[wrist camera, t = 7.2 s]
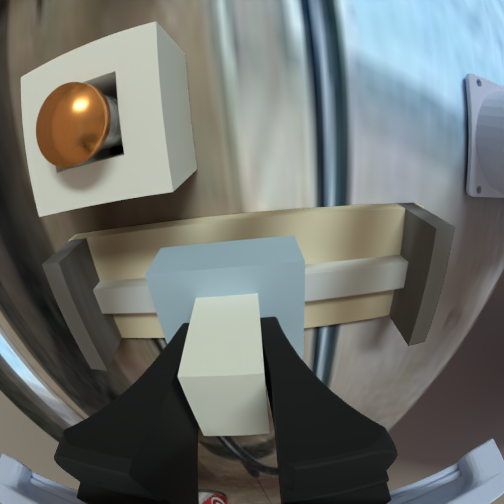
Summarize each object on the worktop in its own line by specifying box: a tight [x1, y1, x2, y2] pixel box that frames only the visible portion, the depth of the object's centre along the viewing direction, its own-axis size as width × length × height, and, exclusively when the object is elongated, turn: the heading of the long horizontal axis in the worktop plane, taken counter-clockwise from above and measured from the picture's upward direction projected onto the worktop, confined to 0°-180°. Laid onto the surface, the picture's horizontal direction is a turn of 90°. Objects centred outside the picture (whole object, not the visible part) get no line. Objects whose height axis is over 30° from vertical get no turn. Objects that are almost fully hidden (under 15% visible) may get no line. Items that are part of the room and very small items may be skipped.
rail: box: [42, 203, 454, 370], centre depth 14 cm, size 20×7×4 cm, turn 95°
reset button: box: [36, 82, 123, 167], centre depth 9 cm, size 3×3×6 cm
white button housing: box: [21, 22, 197, 217], centre depth 10 cm, size 6×6×5 cm
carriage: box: [145, 235, 305, 436], centre depth 11 cm, size 6×6×6 cm
